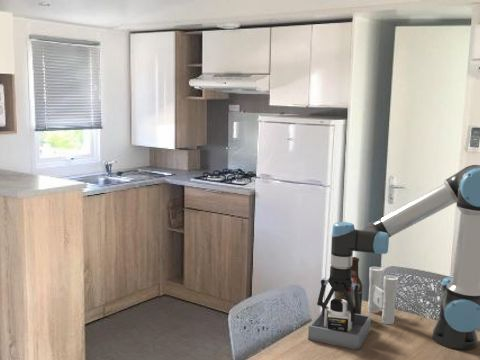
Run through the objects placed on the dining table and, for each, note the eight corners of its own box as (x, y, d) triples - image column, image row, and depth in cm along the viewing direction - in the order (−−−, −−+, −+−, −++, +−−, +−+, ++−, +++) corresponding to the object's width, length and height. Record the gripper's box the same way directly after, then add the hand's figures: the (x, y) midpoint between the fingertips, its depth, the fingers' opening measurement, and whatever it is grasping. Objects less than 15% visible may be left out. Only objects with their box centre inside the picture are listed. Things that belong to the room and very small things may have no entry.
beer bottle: (362, 320, 214) (366, 260, 211) (343, 319, 215) (346, 260, 211) (358, 312, 222) (362, 255, 219) (339, 312, 222) (343, 254, 219)
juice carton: (336, 322, 209) (339, 266, 206) (353, 325, 207) (357, 268, 204) (332, 328, 203) (336, 271, 200) (350, 331, 201) (354, 273, 198)
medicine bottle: (326, 335, 193) (328, 302, 192) (327, 327, 200) (329, 295, 199) (347, 337, 192) (349, 304, 190) (347, 329, 199) (349, 297, 197)
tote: (370, 329, 206) (371, 316, 205) (358, 349, 188) (359, 336, 187) (323, 320, 213) (324, 307, 213) (308, 339, 195) (308, 325, 195)
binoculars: (364, 308, 227) (367, 266, 224) (376, 308, 228) (379, 266, 226) (385, 325, 210) (388, 280, 208) (397, 324, 211) (401, 279, 209)
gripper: (372, 267, 192) (368, 329, 195) (315, 259, 200) (312, 318, 204) (368, 273, 185) (364, 337, 188) (309, 264, 194) (306, 325, 197)
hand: (337, 327), depth 196 cm, fingers closed on medicine bottle, 8 cm apart
